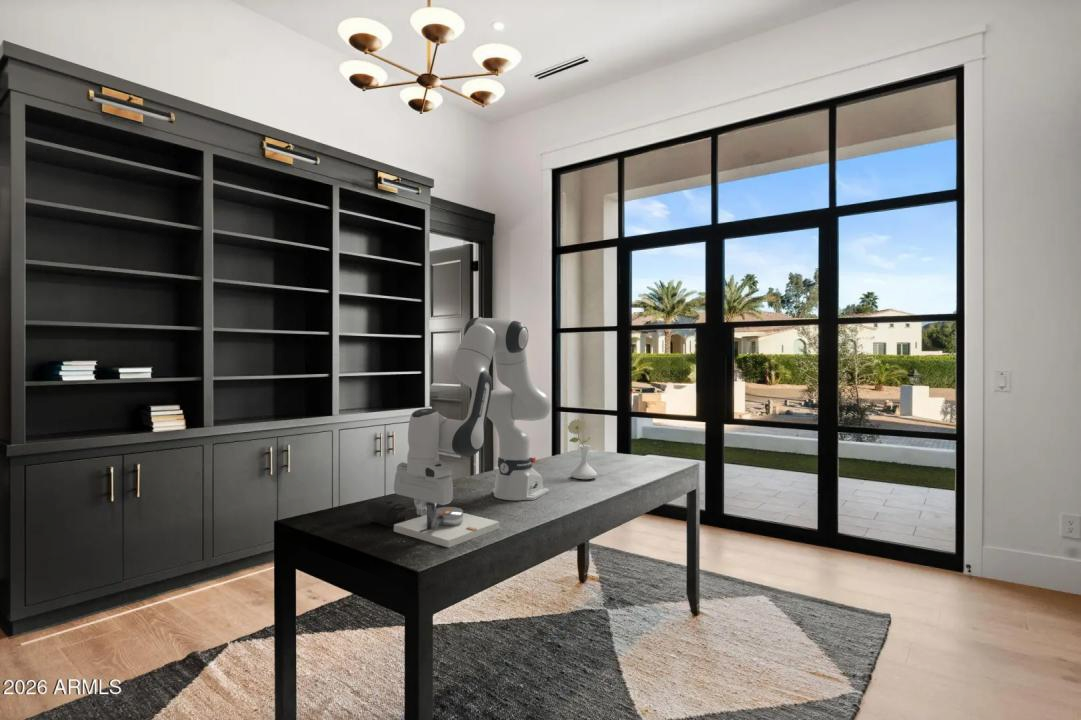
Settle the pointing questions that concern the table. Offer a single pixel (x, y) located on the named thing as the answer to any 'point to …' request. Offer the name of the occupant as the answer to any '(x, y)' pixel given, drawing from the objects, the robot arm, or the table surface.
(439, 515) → the silver metal piece
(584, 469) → the flower in vase
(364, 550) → the table surface
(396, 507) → the end cap
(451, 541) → the panel
